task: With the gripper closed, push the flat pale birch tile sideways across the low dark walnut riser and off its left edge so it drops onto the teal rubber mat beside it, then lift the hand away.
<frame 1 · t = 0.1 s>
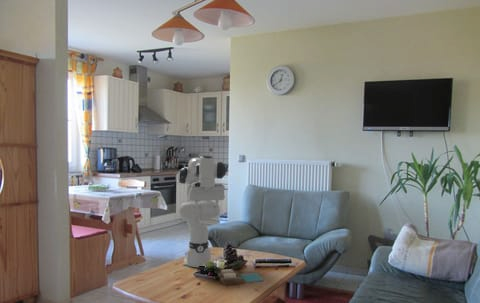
hand: (206, 208, 213), 39 cm above the table, tool pointing down, fingers open, 8 cm apart
birch tile: (228, 275, 208), point 2 cm above the table, touching walnut riser
walnut riser: (230, 279, 209), on the table
teal mat: (251, 277, 213), on the table
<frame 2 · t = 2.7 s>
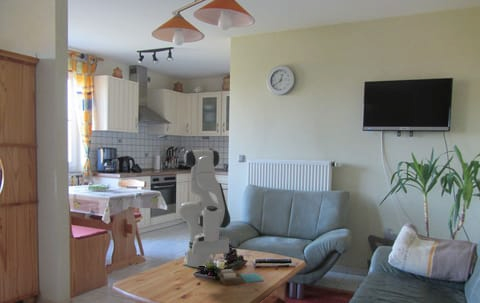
hand: (210, 262, 205), 11 cm above the table, tool pointing down, fingers closed
nothing on the table moved.
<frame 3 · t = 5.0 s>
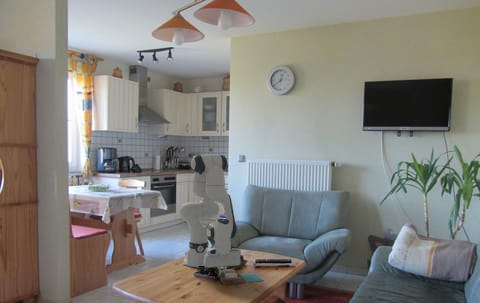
hand: (221, 274, 207), 4 cm above the table, tool pointing down, fingers closed
birch tile: (229, 275, 209), point 3 cm above the table, touching gripper, walnut riser
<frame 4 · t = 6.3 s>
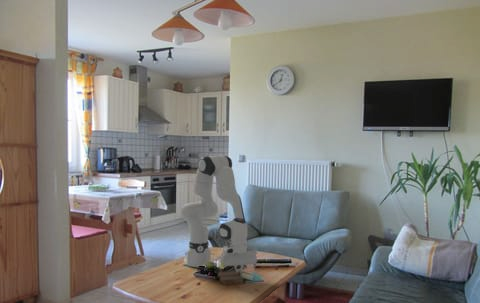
hand: (238, 272, 210), 4 cm above the table, tool pointing down, fingers closed
birch tile: (245, 276, 211), point 1 cm above the table, tilted 17°, touching gripper
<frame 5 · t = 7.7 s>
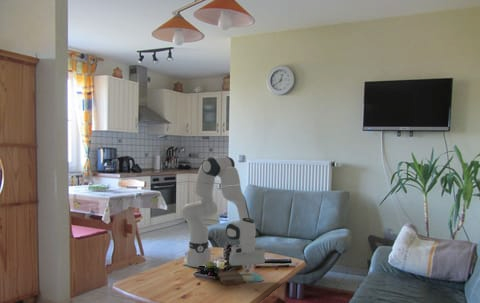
hand: (246, 272, 211), 4 cm above the table, tool pointing down, fingers closed
birch tile: (246, 277, 211), on the table, touching teal mat
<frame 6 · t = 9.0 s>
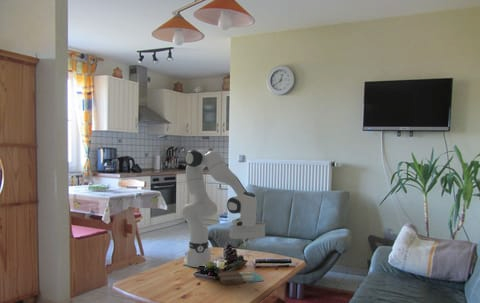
hand: (246, 246, 211), 18 cm above the table, tool pointing down, fingers closed
nothing on the table moved.
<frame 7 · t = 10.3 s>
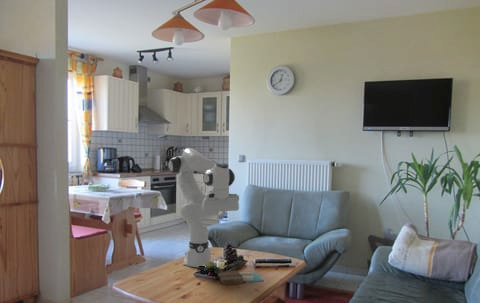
hand: (220, 219, 207), 34 cm above the table, tool pointing down, fingers closed
nothing on the table moved.
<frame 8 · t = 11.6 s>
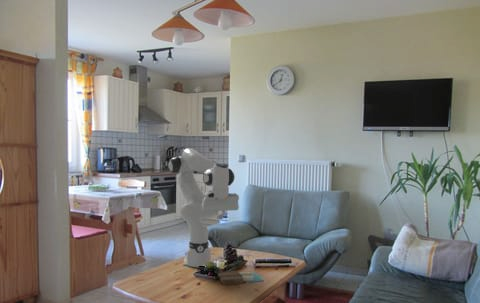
hand: (220, 218, 207), 34 cm above the table, tool pointing down, fingers closed
nothing on the table moved.
at the end: birch tile inside the target area (3.3 cm from its centre), on the table; birch tile touching teal mat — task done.
